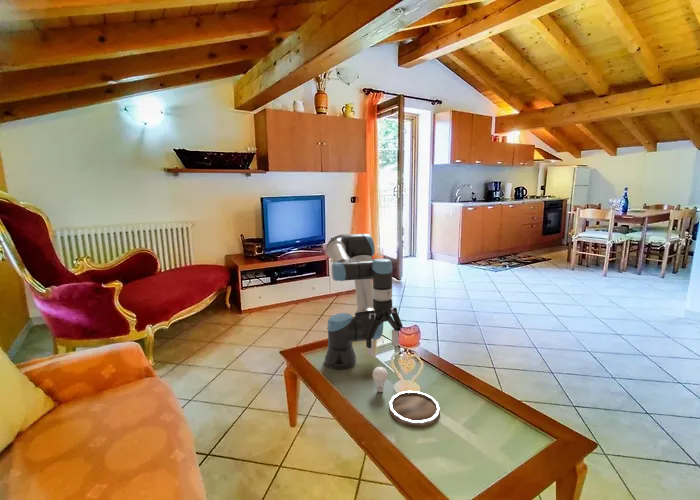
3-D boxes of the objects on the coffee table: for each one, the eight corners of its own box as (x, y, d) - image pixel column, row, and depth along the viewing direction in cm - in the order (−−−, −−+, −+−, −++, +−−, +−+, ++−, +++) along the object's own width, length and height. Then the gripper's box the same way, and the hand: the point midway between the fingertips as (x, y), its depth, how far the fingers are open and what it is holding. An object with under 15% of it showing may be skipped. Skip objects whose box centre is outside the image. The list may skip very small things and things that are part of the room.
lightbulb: (386, 397, 144) (387, 372, 142) (371, 395, 145) (371, 371, 143) (388, 388, 150) (388, 364, 148) (373, 386, 152) (373, 363, 149)
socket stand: (378, 409, 137) (378, 404, 136) (409, 388, 149) (410, 385, 149) (419, 434, 123) (419, 430, 123) (449, 410, 136) (449, 406, 135)
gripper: (365, 307, 128) (366, 362, 130) (411, 294, 143) (411, 344, 146) (352, 302, 133) (353, 356, 136) (397, 291, 149) (397, 339, 152)
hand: (383, 350), depth 141 cm, fingers open, 13 cm apart
